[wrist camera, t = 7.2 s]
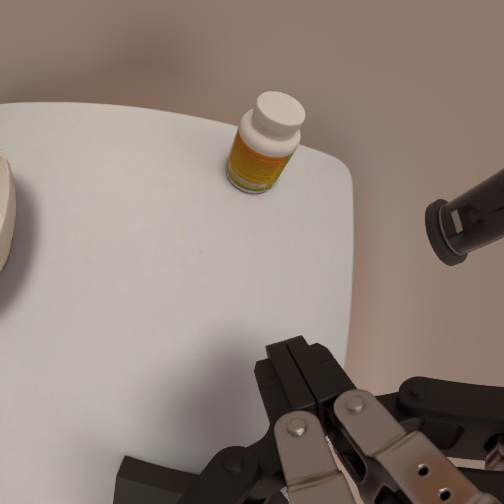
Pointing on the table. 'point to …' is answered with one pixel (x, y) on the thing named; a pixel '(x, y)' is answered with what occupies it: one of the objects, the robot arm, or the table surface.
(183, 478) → the red push button box
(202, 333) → the table surface
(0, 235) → the bowl
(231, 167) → the supplement bottle
